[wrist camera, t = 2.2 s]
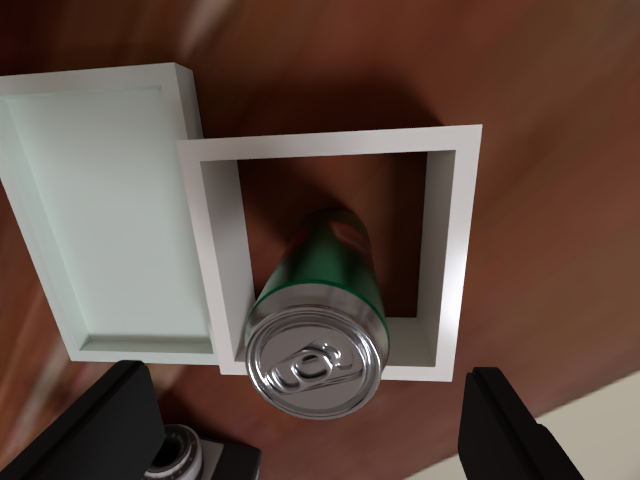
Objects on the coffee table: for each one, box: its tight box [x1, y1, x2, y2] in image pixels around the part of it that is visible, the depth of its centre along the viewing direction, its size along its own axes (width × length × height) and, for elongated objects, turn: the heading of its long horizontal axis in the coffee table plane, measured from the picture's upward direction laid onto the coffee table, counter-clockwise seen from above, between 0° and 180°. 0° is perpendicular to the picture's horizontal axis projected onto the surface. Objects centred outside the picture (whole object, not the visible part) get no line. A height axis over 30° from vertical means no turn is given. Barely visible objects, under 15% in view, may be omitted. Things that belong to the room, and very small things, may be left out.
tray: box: [0, 62, 219, 365], centre depth 21 cm, size 20×13×2 cm, turn 3°
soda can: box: [244, 208, 390, 420], centre depth 15 cm, size 5×5×12 cm
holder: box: [176, 125, 482, 382], centre depth 18 cm, size 14×14×5 cm
